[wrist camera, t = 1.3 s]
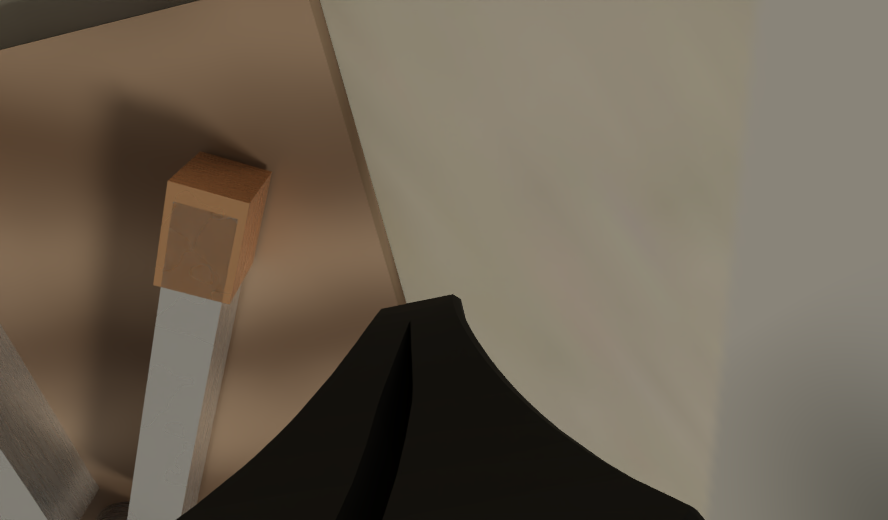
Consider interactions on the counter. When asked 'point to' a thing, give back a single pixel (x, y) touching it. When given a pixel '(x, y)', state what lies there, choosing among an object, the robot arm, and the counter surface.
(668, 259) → the counter surface
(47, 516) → the tongs fixed arm
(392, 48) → the counter surface
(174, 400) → the tongs swing arm
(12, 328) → the walnut board
